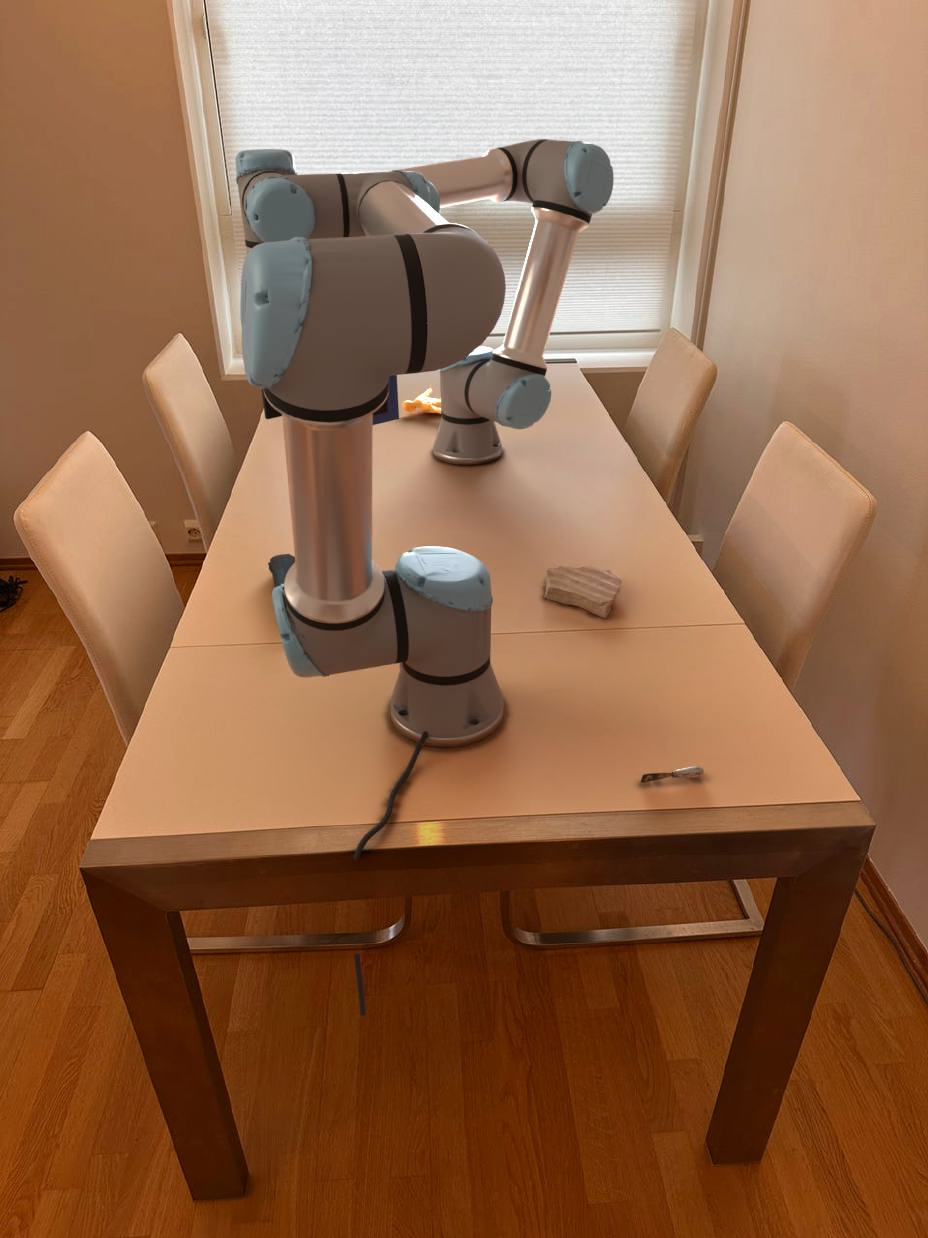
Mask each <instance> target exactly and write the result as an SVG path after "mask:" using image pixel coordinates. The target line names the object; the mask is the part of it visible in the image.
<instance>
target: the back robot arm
mask: <svg viewBox="0 0 928 1238" xmlns="http://www.w3.org/2000/svg"><path fill="white" fill-rule="evenodd" d="M399 170H400V171H407V172H419V173H421V174H422V175H423V176H424V177H425V179H426V181H427V186H428V187H429V192H430V199H431V208H432V209H433V210H434V211H435V212H437V213H438V214H439V215H440V214H441V208H448V207H452V206H456V205H457V206H458V205H462V204H469V203H472V202H478V201H483V200H490V201H492V202H494V203H502V202H520V203H526V204H527V203H528V204H532V206H531V208H530V209H531V210H530V211H531V213H532V215H533V218H534V219H535V224H534V228H533V232H532V235H531V239H530V242H529V246H528V250H527V252H526V258H525V260H524V264H523V268H522V272H521V276H520V279H519V282H518V286H517V290H516V294H515V297H514V300H513V304H512V308H511V312H510V316H509V319H508V323H507V326H506V330H505V333H504V334H505V335H504V338H503V341H502V344H501V346H499V347H498V348H496V349H494V348H492V347H489V346H488V347H487V346H479V347H478V348H477V349H476V350H474V351H473V352H472V353H471V354H470V355H468V356H467V357H466V358H464V359H462V360H460V361H459V362H457V363H455V364H453V365H451V366H449V367H446V368H442V369H439V370H438V372H439V380H440V381H439V386H440V399H441V414H440V416H441V417H440V422H439V426H438V429H437V431H436V436H435V439H434V442H433V455H434V456H435V458H436V459H438V460H440V461H442V462H445V463H448V464H453V465H459V466H461V465H462V466H473V465H481V464H487V463H490V462H493V461H495V460H497V459H498V458H499V457H500V456H501V455H502V441H501V438H500V435H499V432H498V428H497V426H496V423H497V424H498V425H500V426H502V427H507V428H511V429H515V430H525V429H529V428H531V427H532V426H534V424H535V423H538V422H539V421H540V420H541V419H542V418H543V417H544V415H545V414H546V412H547V410H548V408H549V406H550V403H551V400H552V389H551V384H550V382H549V380H548V379H547V378H546V375H547V371H548V365H547V362H546V361H545V358H544V354H545V351H546V348H547V344H548V341H549V337H550V334H551V331H552V327H553V323H554V319H555V317H556V314H557V313H556V312H557V310H558V306H559V302H560V299H561V296H562V293H563V292H562V291H563V288H564V284H565V282H566V278H567V275H568V271H569V267H570V264H571V260H572V257H573V253H574V251H575V247H576V243H577V240H578V236H579V234H580V233H581V232H583V231H584V230H586V229H587V228H589V226H590V223H591V220H592V216H593V215H595V214H597V213H599V212H600V211H602V210H603V208H604V207H606V206H607V205H608V203H609V202H610V199H611V196H612V194H613V189H614V181H615V179H614V177H615V176H614V169H613V166H612V165H611V159H610V157H609V155H608V153H607V152H606V151H605V150H604V148H602V146H599V145H598V144H595V143H591V142H585V141H583V140H560V139H559V140H557V139H550V138H549V139H548V138H536V139H530V140H525V141H521V142H516V143H512V144H508V145H504V146H503V145H502V146H498V147H493V148H489V149H487V150H486V152H485V153H484V154H483V155H480V156H475V157H468V158H462V159H456V160H455V159H454V160H451V161H444V162H437V163H432V164H425V165H417V166H413V167H412V166H411V167H405V168H401V169H399ZM390 171H391V170H389V171H387V172H390ZM350 173H351V172H342V173H340V174H350ZM353 173H365V172H361V171H360V172H359V171H357V172H356V171H353ZM440 216H441V215H440ZM386 412H388V407H387V399H386V401H385V402H384V404H383V405H382V406H381V407H380V408H379V409H378V410H377V411H376V412H374V413H373V415H378V414H382V413H386Z"/></svg>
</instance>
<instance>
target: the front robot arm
mask: <svg viewBox="0 0 928 1238" xmlns="http://www.w3.org/2000/svg"><path fill="white" fill-rule="evenodd" d="M234 161H235V171H236V176H235V182H236V185H237V191H238V199H239V204H240V205H239V206H240V213H241V219H242V227H243V232H244V243H245V250H246V256H244V261H243V264H242V268H241V269H242V270H241V279H240V297H239V298H240V304H239V305H240V312H239V313H240V314H239V315H240V326H241V351H242V361H243V368H244V373H245V376H246V380H247V382H248V383H249V385H250V386H252V387H255V388H259V389H261V396H262V405H263V412H264V418H265V420H271V419H276V418H279V417H281V418H282V428H283V440H284V451H285V462H286V474H287V484H288V497H289V506H290V507H289V509H290V519H291V530H292V540H293V541H292V543H293V551H294V553H293V554H294V557H295V563H294V564H293V565H292V566H291V567H290V569H289V570H288V572H287V574H286V578H285V582H284V584H281V585H280V586H277V587H275V586H274V587H273V589H272V591H271V597H272V598H271V599H272V606H273V609H274V610H273V611H274V615H275V620H276V624H277V629H278V632H279V634H280V639H281V643H282V647H283V651H284V654H285V657H286V660H287V661H286V662H287V663H288V666H289V668H290V670H291V672H292V673H293V674H294V675H296V676H297V677H300V678H314V677H321V678H322V677H323V678H325V677H330V676H332V675H338V674H343V673H349V672H355V671H361V670H367V669H372V668H377V667H384V666H389V665H390V666H391V665H396V664H399V672H398V675H397V678H396V681H395V684H394V687H393V690H392V693H391V696H390V703H389V706H390V718H391V721H392V724H393V725H394V727H395V728H396V729H397V731H398V732H399V733H400V734H402V735H403V736H404V737H406V738H407V739H409V740H411V741H413V742H415V743H417V744H416V747H415V749H414V751H413V753H412V755H411V757H410V760H409V762H408V765H407V766H406V768H405V770H404V772H403V773H402V775H401V777H400V778H399V779H398V781H397V782H396V783H395V785H394V787H393V788H392V789H391V792H390V794H389V797H388V801H387V806H386V810H385V812H384V815H383V817H382V818H381V819H380V821H379V822H378V823H377V824H376V825H375V826H373V827H372V828H371V829H370V830H369V831H367V832H366V833H365V834H364V836H362V838H361V839H360V841H359V843H357V846H356V849H355V851H354V854H353V860H355V861H357V860H359V859H360V858H361V857H362V856H361V855H362V853H363V851H364V848H365V846H366V845H367V843H368V842H369V841H370V839H371V838H372V837H374V836H375V835H376V834H377V833H378V832H379V831H381V830H382V829H383V828H384V827H385V826H386V825H387V823H388V822H389V820H390V818H391V816H392V813H393V809H394V804H395V800H396V797H397V795H398V793H399V791H400V789H401V788H402V787H403V785H404V784H405V783H406V781H407V780H408V778H409V776H410V774H411V773H412V771H413V770H414V769H413V768H414V767H415V765H416V762H417V760H418V758H419V755H420V753H421V751H422V749H423V746H424V745H425V746H430V747H437V748H454V747H455V748H457V747H463V746H467V745H471V744H473V743H476V742H480V741H481V740H483V739H485V738H486V737H488V736H489V735H491V734H492V733H493V732H494V731H495V730H496V729H498V727H499V726H500V724H501V722H502V720H503V717H504V697H503V693H502V690H501V687H500V685H499V682H498V679H497V677H496V674H495V672H494V668H493V666H492V664H491V654H492V653H491V651H492V649H491V648H492V647H491V645H492V643H491V642H492V641H491V640H492V606H493V604H494V598H493V594H492V582H491V581H492V580H491V574H490V572H489V570H488V568H487V567H486V566H485V564H484V563H483V562H482V561H481V560H480V559H478V558H477V557H475V556H473V555H471V554H470V553H467V552H464V551H462V550H459V549H456V548H452V547H448V546H447V547H446V546H438V545H437V546H436V545H435V546H434V545H433V546H432V545H428V546H418V547H413V548H410V549H408V550H407V552H406V551H405V552H403V553H401V554H400V556H399V557H398V558H397V561H396V563H395V566H394V569H389V570H382V569H381V568H380V567H379V565H378V564H377V563H376V562H375V561H374V560H373V435H374V434H373V430H374V429H373V426H374V425H373V413H374V412H376V411H377V410H378V409H379V408H380V407H381V406H382V405H383V404H384V402H385V401H386V399H387V397H388V394H389V376H392V375H397V376H401V375H402V376H403V375H411V374H420V373H429V372H436V371H440V369H442V368H446V367H449V366H451V365H453V364H455V363H457V362H459V361H460V360H462V359H464V358H466V357H467V356H468V355H470V354H471V353H472V352H473V351H474V350H476V349H477V348H478V347H481V346H482V345H483V343H484V342H485V341H486V339H487V338H488V337H489V336H490V334H491V333H492V332H493V330H494V329H495V327H496V325H497V323H498V321H499V320H500V317H501V315H502V312H503V308H504V305H505V300H506V292H507V288H506V287H507V285H506V284H507V283H506V275H505V272H504V267H503V265H502V262H501V260H500V258H499V256H498V254H497V252H496V250H495V249H494V248H493V246H492V245H491V244H490V243H489V242H488V241H487V240H486V239H485V238H483V237H482V236H481V235H480V234H479V233H478V232H476V231H475V230H473V229H471V228H470V227H468V226H465V225H463V224H458V223H454V222H453V223H452V222H451V223H450V222H448V221H447V220H446V219H445V218H444V217H443V216H442V215H439V214H438V213H437V212H435V211H434V210H433V209H432V208H431V199H430V192H429V187H428V186H427V181H426V179H425V177H424V176H423V175H422V174H421V173H419V172H407V171H400V169H393V170H389V171H390V172H388V171H373V172H364V173H354V172H349V173H350V174H341V173H311V174H310V173H307V174H305V173H304V174H298V172H297V169H296V163H295V157H294V154H293V153H292V152H291V151H290V150H287V149H282V148H281V149H280V148H279V149H278V148H275V149H274V148H260V149H257V148H256V149H247V150H246V149H245V150H242V151H239V152H238V153H237V154H236V155H235V159H234ZM353 957H354V959H353V960H354V965H355V966H354V967H355V975H356V984H357V993H358V1003H359V1015H360V1016H362V1017H364V1016H366V1013H367V1012H366V999H365V990H364V980H363V969H362V962H361V953H356V954H354V955H353Z"/></svg>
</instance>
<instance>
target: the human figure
mask: <svg viewBox="0 0 928 1238" xmlns="http://www.w3.org/2000/svg"><path fill="white" fill-rule="evenodd" d="M424 391H425V392H423V393H422V394H420V395H418V396H416V398H415V399H414V400H404V401H403V402H402V411H404V412H405V413H410V414H412V413H414V412H417V408H418V409H420V410H421V411H423V412H424V413H427V414H439V415H441V398H434V397H429V396H430V395H432V394H433V392H434V391H433V389H432V385H429V387H428V389H424Z"/></svg>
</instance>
